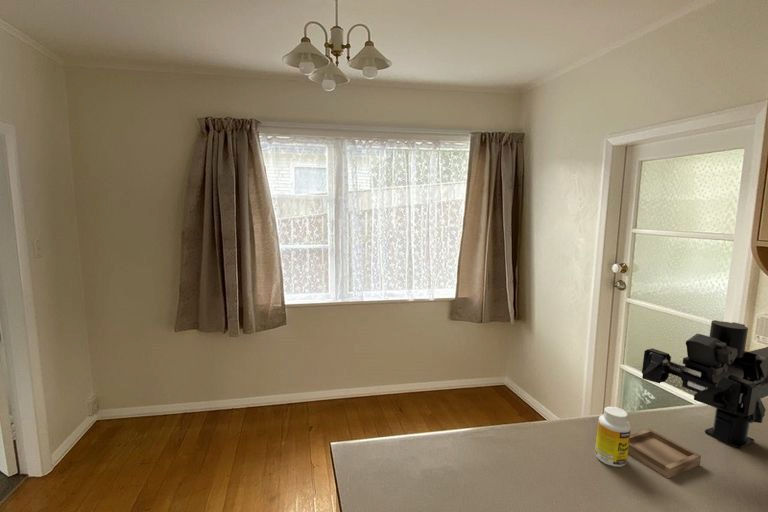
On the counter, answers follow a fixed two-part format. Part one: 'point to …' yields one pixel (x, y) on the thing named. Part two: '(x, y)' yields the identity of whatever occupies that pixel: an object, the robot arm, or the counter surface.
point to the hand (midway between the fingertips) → (667, 386)
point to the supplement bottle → (613, 437)
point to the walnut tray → (661, 453)
